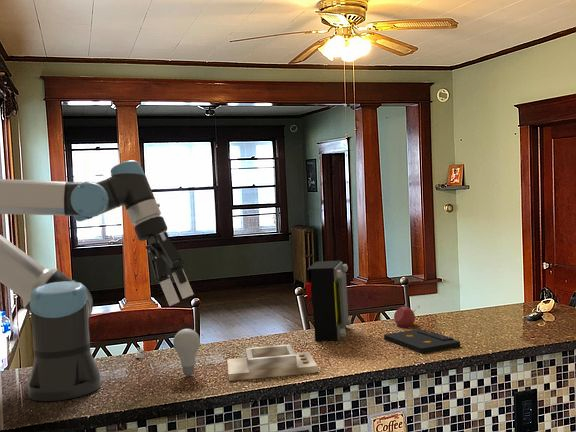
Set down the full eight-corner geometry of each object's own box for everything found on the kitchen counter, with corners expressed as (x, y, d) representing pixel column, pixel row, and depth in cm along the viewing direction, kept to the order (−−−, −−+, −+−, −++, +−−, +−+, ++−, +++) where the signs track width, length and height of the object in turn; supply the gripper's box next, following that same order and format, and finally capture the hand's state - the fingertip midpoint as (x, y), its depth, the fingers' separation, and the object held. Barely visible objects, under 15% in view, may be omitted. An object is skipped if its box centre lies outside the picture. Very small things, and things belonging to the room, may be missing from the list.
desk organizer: (228, 380, 134) (227, 363, 133) (227, 365, 146) (226, 348, 146) (317, 372, 136) (316, 354, 136) (309, 357, 149) (308, 341, 149)
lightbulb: (206, 372, 141) (203, 326, 141) (195, 380, 135) (192, 332, 135) (182, 372, 143) (179, 326, 142) (170, 380, 137) (167, 331, 136)
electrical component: (345, 341, 164) (341, 267, 163) (308, 341, 166) (303, 269, 165) (351, 326, 181) (347, 260, 180) (318, 327, 183) (314, 261, 182)
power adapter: (145, 359, 159) (144, 347, 159) (135, 361, 157) (134, 349, 157) (142, 357, 161) (142, 345, 161) (133, 358, 160) (132, 347, 160)
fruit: (415, 333, 176) (425, 308, 178) (400, 325, 174) (411, 300, 176) (404, 329, 182) (414, 305, 183) (389, 322, 180) (399, 297, 181)
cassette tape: (461, 349, 151) (460, 340, 150) (421, 356, 146) (421, 347, 146) (419, 335, 167) (419, 327, 167) (383, 341, 163) (383, 333, 163)
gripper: (173, 202, 140) (209, 287, 138) (151, 227, 162) (182, 301, 160) (143, 212, 136) (179, 299, 135) (125, 237, 158) (156, 312, 157)
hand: (181, 300), depth 147 cm, fingers open, 13 cm apart
